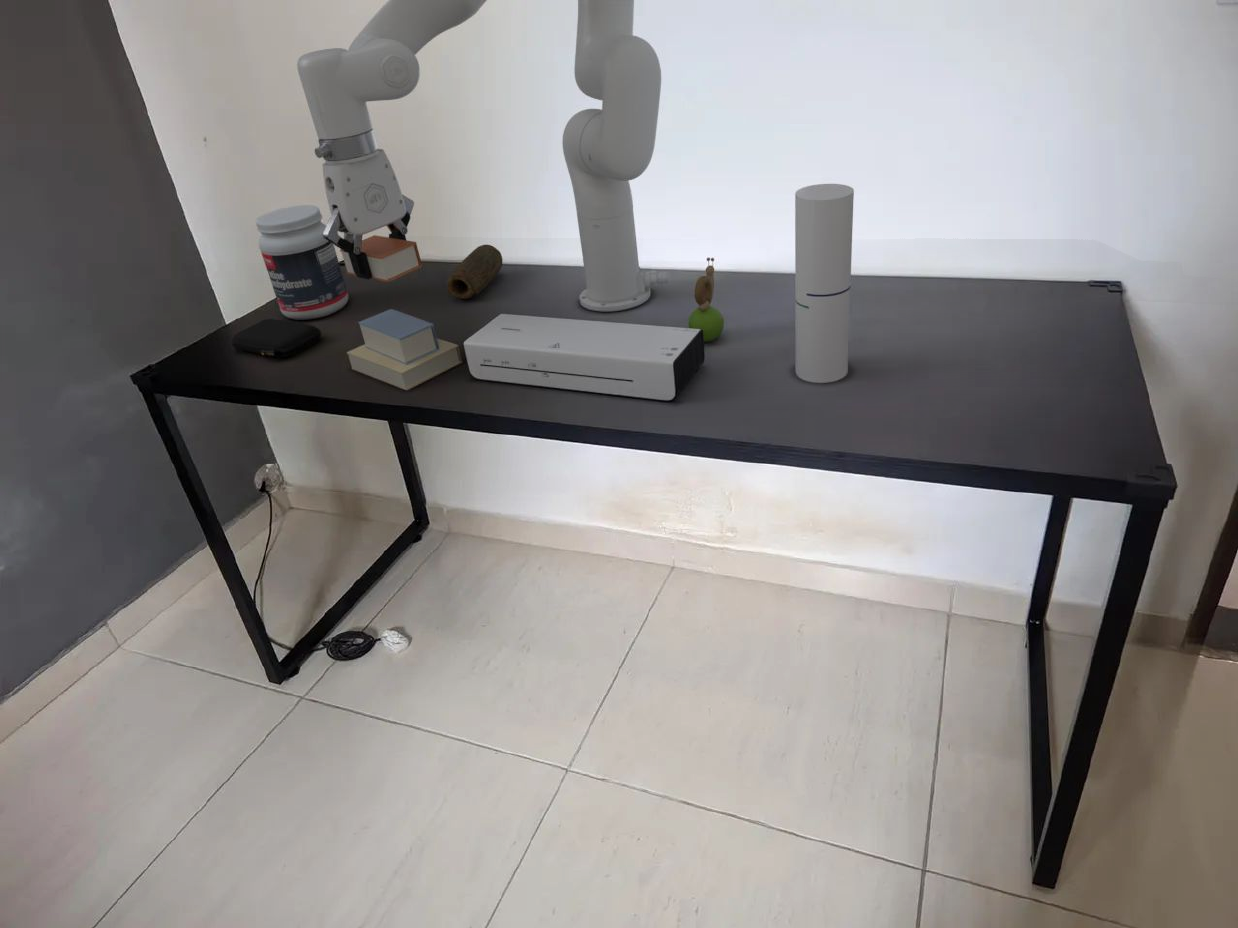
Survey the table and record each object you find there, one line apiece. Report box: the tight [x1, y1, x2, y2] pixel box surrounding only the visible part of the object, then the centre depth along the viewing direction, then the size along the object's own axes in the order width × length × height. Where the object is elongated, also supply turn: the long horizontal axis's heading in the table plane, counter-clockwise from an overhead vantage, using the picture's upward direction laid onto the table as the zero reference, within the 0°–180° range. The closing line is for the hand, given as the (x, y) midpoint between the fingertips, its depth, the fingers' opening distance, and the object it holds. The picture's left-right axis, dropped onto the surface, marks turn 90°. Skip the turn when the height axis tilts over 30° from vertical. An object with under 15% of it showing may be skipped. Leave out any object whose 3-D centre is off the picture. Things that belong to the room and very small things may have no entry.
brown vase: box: [446, 244, 503, 300], centre depth 164 cm, size 15×7×7 cm, turn 168°
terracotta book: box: [339, 234, 423, 283], centre depth 130 cm, size 10×7×4 cm, turn 51°
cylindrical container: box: [794, 183, 855, 384], centre depth 115 cm, size 7×7×25 cm
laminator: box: [462, 313, 706, 403], centre depth 128 cm, size 34×12×6 cm, turn 65°
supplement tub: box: [255, 204, 349, 321], centre depth 161 cm, size 13×13×18 cm
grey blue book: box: [358, 308, 440, 365], centre depth 136 cm, size 12×6×4 cm, turn 45°
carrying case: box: [231, 318, 322, 358], centre depth 151 cm, size 11×3×15 cm
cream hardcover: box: [346, 338, 463, 391], centre depth 138 cm, size 15×11×3 cm
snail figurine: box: [687, 257, 725, 343], centre depth 132 cm, size 5×6×12 cm
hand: (384, 268), depth 131 cm, fingers closed on terracotta book, 6 cm apart
